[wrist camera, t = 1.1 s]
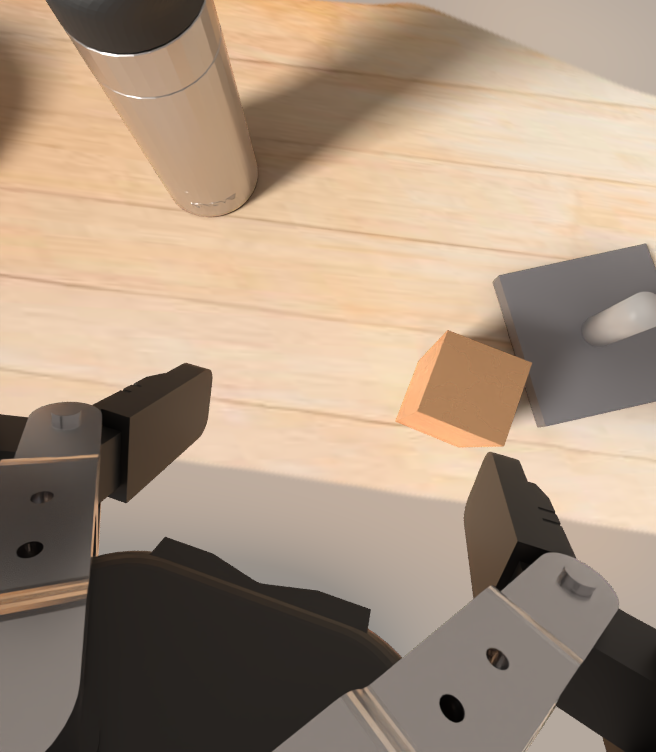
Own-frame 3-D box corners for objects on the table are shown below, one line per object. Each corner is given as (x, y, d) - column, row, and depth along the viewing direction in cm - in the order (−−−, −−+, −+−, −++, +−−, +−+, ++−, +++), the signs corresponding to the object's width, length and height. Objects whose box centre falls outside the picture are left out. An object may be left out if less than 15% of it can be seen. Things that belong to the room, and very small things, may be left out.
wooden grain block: (395, 421, 38) (417, 411, 28) (418, 360, 39) (447, 330, 29) (458, 447, 37) (503, 446, 27) (481, 385, 38) (532, 362, 28)
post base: (492, 282, 40) (528, 243, 32) (634, 251, 40) (702, 206, 33) (537, 427, 37) (587, 421, 30) (687, 393, 38) (773, 379, 30)
